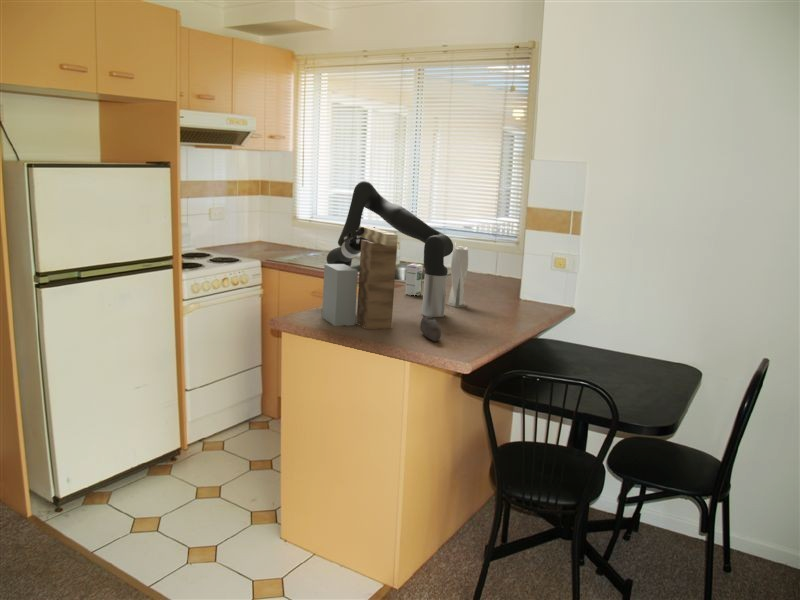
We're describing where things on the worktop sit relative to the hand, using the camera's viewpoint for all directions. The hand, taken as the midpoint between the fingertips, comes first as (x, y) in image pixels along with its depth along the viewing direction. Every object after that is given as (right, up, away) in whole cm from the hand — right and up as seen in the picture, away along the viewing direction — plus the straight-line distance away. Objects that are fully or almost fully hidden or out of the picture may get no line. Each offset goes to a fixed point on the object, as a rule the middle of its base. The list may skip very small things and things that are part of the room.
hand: (369, 229), depth 256 cm
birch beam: (+3, -5, -6) cm, 8 cm away
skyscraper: (+37, -29, +46) cm, 66 cm away
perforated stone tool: (+23, -41, -14) cm, 49 cm away
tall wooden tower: (+2, -37, -1) cm, 37 cm away
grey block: (-12, -35, +2) cm, 37 cm away
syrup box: (+18, -25, +63) cm, 70 cm away
